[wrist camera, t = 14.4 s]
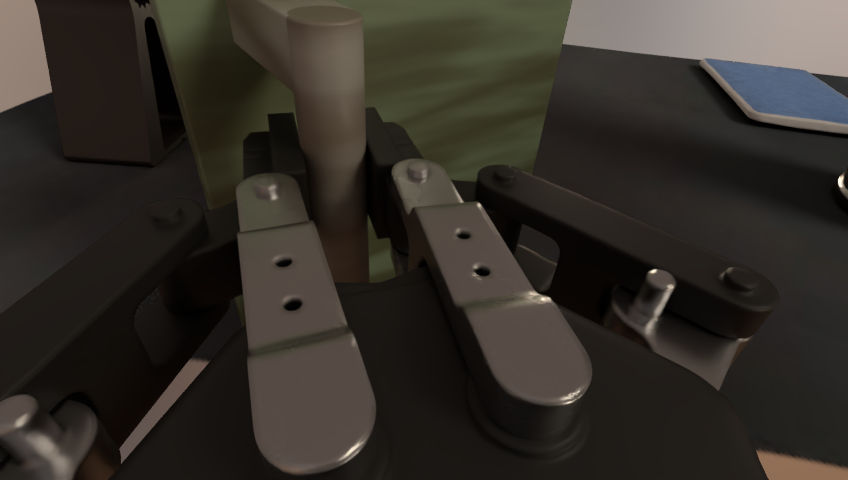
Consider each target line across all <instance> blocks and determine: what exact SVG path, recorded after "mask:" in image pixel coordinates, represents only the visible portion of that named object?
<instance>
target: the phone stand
mask: <svg viewBox="0 0 848 480" xmlns="http://www.w3.org/2000/svg"><path fill="white" fill-rule="evenodd" d="M35 3H36V6H37V9H38V13H39V18H40V24H41V30H42V35H43V41H44V46H45V52H46V58H47V63H48V69H49V75H50V81H51V86H52V92H53V98H54V103H55V109H56V115H57V120H58V126H59V132H60V137H61V143H62V149H63V154H64V158H65V159H66V160H74V161H88V162H102V163H115V164H129V165H142V166H156V165H157V164H158V163H159V162H161V161H162V160H163V159H164V158H165V157H166V156H167V155H168V154H169V153H170V152H171V151H172V150H173V149H174V148H175V147H177V146H178V145H179V144H180V143H181V142H182V141H183V140H182V139H183V138H184V139H185V138H186V137H187V136H188V135H187V132H186V128H185V125H184V121H183V118H182V114H181V111H180V107H179V104H178V100H177V97H176V93H175V90H174V86H173V83H172V79H171V76H170V72H169V69H168V65H167V62H166V58H165V55H164V51H163V48H162V44H161V41H160V37H159V34H158V30H157V26H156V23H155V19H154V16H153V12H152V9H151V5H150V2H149V0H35Z"/></svg>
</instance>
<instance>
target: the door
mask: <svg viewBox="0 0 848 480" xmlns="http://www.w3.org/2000/svg"><path fill="white" fill-rule="evenodd" d="M149 2H150V5H151V9H152V12H153V16H154V19H155V23H156V26H157V30H158V34H159V37H160V41H161V44H162V48H163V51H164V55H165V58H166V62H167V65H168V69H169V72H170V76H171V79H172V83H173V86H174V90H175V93H176V97H177V100H178V104H179V107H180V111H181V114H182V118H183V121H184V125H185V128H186V132H187V135H188V139H189V142H190V146H191V149H192V153H193V156H194V160H195V163H196V167H197V170H198V174H199V177H200V181H201V184H202V188H203V191H204V195H205V198H206V202H207V205H208V209H209V211H210V210H213V209H216V208H219V207H222V206H225V205H227V204H229V203H231V202H233V201H234V200H235V199H237V197H236V188H237V186H238V185H239V184H240V183H241V182H242V181H243V140H244V139H245V138H246V137H247V136H248V135H249V134H250V132H262V131H269V123H268V115H267V114H274V113H290V112H293V113H294V117H295V122H296V126H297V130H298V135H299V142H300V147H301V149H302V153H303V157H304V161H305V166H306V170H307V178H308V187H309V196H310V204H311V213H312V220H313V221H314V223H315V226H316V229H317V232H318V235H319V238H320V241H321V244H322V248H323V251H324V254H325V257H326V260H327V263H328V266H329V269H330V272H331V275H332V279H333V282H340V283H379V282H383V281H386V280H389V279H391V278H394V277H396V273H395V270H394V267H393V263H392V260H391V256H390V246H391V241H390V238H385V239H377V236H376V234H375V231H374V228H373V226H372V223H371V220H370V218H369V215H368V194H367V154H366V114H365V108H369V107H375V109H376V110H377V112H378V114H379V116H380V117H381V119H382V121H383V122H394V123H396V124H398V125H399V126H401V127H403V128H404V129H405V130H406V132H407V134H408V135H409V138H411V140H412V141H413V143H414V145H415V146H416V148H417V149H418V151H419V152H420V154H421V155H422V157H423V158H424V159H426V160H430V161H433V162H436V163H438V164H439V165H441V166H442V167H443V168H444V169H445V171H446V173H447V174H448V176H449V178H450V179H452V180H460V181H473V182H476V181H477V175H478V172H479V170H480V169H482V168H483V167H486V166H489V165H508V166H513V167H516V168H519V169H521V170H523V171H526V172H528V173H530V174H532V173H533V169H534V164H535V160H536V156H537V151H538V147H539V143H540V138H541V134H542V130H543V125H544V121H545V117H546V112H547V108H548V104H549V99H550V95H551V91H552V86H553V82H554V78H555V73H556V69H557V65H558V60H559V56H560V52H561V47H562V43H563V39H564V34H565V29H566V26H567V21H568V17H569V13H570V8H571V3H572V0H149ZM234 300H235V303H236V307H237V310H238V314H239V317H240V321H241V324H242V327H243V326H245V325H246V318H245V308H244V298H243V294H242V295H240V296H237V297H235V298H234Z"/></svg>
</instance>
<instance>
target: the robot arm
mask: <svg viewBox="0 0 848 480" xmlns="http://www.w3.org/2000/svg"><path fill="white" fill-rule="evenodd" d="M365 114H366V154H367V194H368V215H369V218H370V220H371V223H372V226H373V228H374V231H375V234H376V236H377V239H385V238H390V241H391V246H390V256H391V260H392V263H393V267H394V270H395V273H396V277H394V278H391V279H389V280H386V281H383V282H379V283H340V282H333V279H332V275H331V272H330V269H329V266H328V263H327V260H326V257H325V254H324V251H323V248H322V244H321V241H320V238H319V235H318V232H317V229H316V226H315V223H314V221H313V220H312V213H311V204H310V196H309V187H308V178H307V170H306V166H305V161H304V157H303V153H302V149H301V147H300V142H299V135H298V130H297V126H296V122H295V117H294V113H293V112H290V113H274V114H267V115H268V123H269V131H262V132H250V134H249V135H248V136H247V137H246V138H245V139H244V140H243V181H242V182H241V183H240V184H239V185H238V186H237V188H236V197H237V199H235V200H234V201H233V202H231V203H229V204H227V205H225V206H222V207H219V208H216V209H213V210H210V211H206V212H203V208H202V206H201V205H200V204H199V203H197V202H196V201H193V200H190V199H184V198H171V199H164V200H160V201H156V202H153V203H151V204H148V205H146V206H144V207H142V208H141V209H139V210H138V211H136V212H135V213H134V214H132V215H131V216H130V217H128V218H127V219H126V220H124V221H123V222H122V223H121V224H119V225H118V226H117V227H115V228H114V229H113V230H111V231H110V232H109V233H107V234H106V235H105V236H103V237H102V238H101V239H99V240H98V241H97V242H95V243H94V244H93V245H91V246H90V247H89V248H87V249H86V250H85V251H83V252H82V253H81V254H79V255H78V256H77V257H75V258H74V259H73V260H72V261H70V262H69V263H68V264H66V265H65V266H64V267H62V268H61V269H60V270H58V271H57V272H56V273H54V274H53V275H52V276H50V277H49V278H48V279H46V280H45V281H44V282H42V283H41V284H40V285H38V286H37V287H36V288H34V289H33V290H32V291H30V292H29V293H28V294H27V295H25V296H24V297H23V298H21V299H20V300H19V301H17V302H16V303H15V304H13V305H12V306H11V307H9V308H8V309H7V310H5V311H4V312H3V313H1V314H0V480H769V479H768V478H767V476H766V474H765V471H764V469H763V467H762V465H761V463H760V461H759V458H758V455H757V452H756V449H755V447H754V444H753V441H752V439H751V436H750V434H749V431H748V430H747V428H746V426H745V424H744V422H743V420H742V419H741V417H740V416H739V414H738V413H737V411H736V410H735V409H734V407H733V406H732V405H731V404H730V403H729V402H728V400H727V399H726V398H725V397H724V396H723V395H722V394H721V393H720V392H719V389H720V387H721V385H722V382H723V380H724V378H725V375H726V373H727V371H728V368H729V367H730V366H731V364H732V363H733V362H734V360H735V359H736V358H737V356H738V355H739V354H740V353H741V351H742V350H743V349H744V347H745V346H746V345H747V343H748V342H749V341H750V339H751V338H752V337H753V336H754V334H755V333H756V332H757V330H758V329H759V328H760V326H761V325H762V324H763V322H764V321H765V320H766V319H767V317H768V316H769V315H770V313H771V312H772V311H773V309H774V308H775V307H776V306H777V304H778V303H779V294H778V291H777V290H776V288H775V287H774V286H773V284H772V283H771V282H770V281H769V280H767V279H766V278H765V277H764V276H762V275H761V274H759V273H757V272H756V271H754V270H752V269H750V268H748V267H746V266H743V265H741V264H739V263H736V262H734V261H732V260H729V259H727V258H725V257H722V256H720V255H718V254H715V253H713V252H711V251H709V250H706V249H704V248H702V247H699V246H697V245H695V244H692V243H690V242H688V241H685V240H683V239H681V238H678V237H676V236H674V235H671V234H669V233H667V232H665V231H662V230H660V229H658V228H655V227H653V226H651V225H648V224H646V223H644V222H641V221H639V220H637V219H634V218H632V217H630V216H627V215H625V214H623V213H621V212H618V211H616V210H614V209H611V208H609V207H607V206H604V205H602V204H600V203H597V202H595V201H593V200H590V199H588V198H586V197H583V196H581V195H579V194H577V193H574V192H572V191H570V190H567V189H565V188H563V187H560V186H558V185H556V184H553V183H551V182H549V181H546V180H544V179H542V178H539V177H537V176H535V175H533V174H530V173H528V172H526V171H523V170H521V169H519V168H516V167H513V166H508V165H489V166H486V167H483V168H482V169H480V170H479V172H478V175H477V181H476V182H473V181H460V180H452V179H450V178H449V176H448V174H447V173H446V171H445V169H444V168H443V167H442V166H441V165H439V164H438V163H436V162H433V161H430V160H426V159H424V158H423V157H422V155H421V154H420V152H419V151H418V149H417V148H416V146H415V145H414V143H413V141H412V140H411V138H409V135H408V134H407V132H406V130H405V129H404V128H403V127H401V126H399V125H398V124H396V123H394V122H383V121H382V119H381V117H380V116H379V114H378V112H377V110H376V109H375V107H369V108H365ZM832 192H833V195H834V197H835V198H836V200H837V201H838V202H839V203H840V204H841V205H842V206H843V207H844V208H845V209H847V210H848V169H847V170H846V172H844V173H843V174H842V175H841V176H840V177H839V179H838V180H837V182H836V183H835V184H834V186H833V188H832ZM522 223H523V224H525V225H527V226H529V227H531V228H533V229H535V230H537V231H539V232H541V233H543V234H545V235H547V236H549V237H551V238H552V239H553V240H554V241H555V242H556V243H557V244H558V246H559V249H560V257H559V260H558V263H555V262H553V261H551V260H549V259H547V258H545V257H543V256H542V255H540V254H538V253H536V252H534V251H532V250H530V249H528V248H527V247H525V246H523V245H521V244H519V243H518V239H519V235H520V231H521V227H522ZM156 287H157V288H158V290H159V292H160V295H161V296H160V297H159V298H158V299H157V300H156V301H155V302H154V303H153V304H152V305H151V306H150V307H149V308H148V309H147V310H146V311H145V312H144V313H143V314H142V315H141V316H140V317H139V318H138V319H137V320H136V321H135V322H134V316H135V312H136V310H137V308H138V306H139V305H140V303H141V302H142V301H143V300H144V299H145V298H146V297H147V296H148V295H149V294H150V293H151V292H152V291H153V290H154V289H155V288H156ZM242 294H243V298H244V308H245V318H246V325H245V326H243V327H242V328H241V329H240V330H239V331H238V332H236V333H235V334H234V335H233V336H232V337H231V338H230V339H229V340H228V342H227V343H226V344H225V345H224V346H223V347H222V349H221V350H220V351H219V352H218V353H217V354H216V355H215V357H214V358H213V359H212V360H211V361H210V362H209V363H208V365H207V366H206V367H205V368H204V369H203V370H202V372H201V373H200V374H199V375H198V376H197V377H196V378H195V380H194V381H193V382H192V383H191V384H190V385H189V387H188V388H187V389H186V390H185V392H183V393H182V395H181V396H180V397H179V398H178V399H177V400H176V402H175V403H174V404H173V405H172V406H171V407H170V408H169V410H168V411H167V412H166V413H165V414H164V415H163V417H162V418H161V419H160V420H159V421H158V422H157V423H156V425H155V426H154V427H153V428H152V429H151V430H150V432H149V433H148V434H147V435H146V436H145V437H144V438H143V440H142V441H141V442H140V443H139V444H138V445H137V446H136V448H135V449H134V450H133V451H132V452H131V453H130V454H129V456H128V457H127V458H126V459H125V460H124V461H123V463H122V464H121V455H120V450H119V448H120V447H121V446H122V444H123V443H124V442H125V440H126V439H127V438H128V437H129V436H130V434H131V433H132V432H133V430H134V429H135V428H136V427H137V425H138V424H139V423H140V422H141V420H142V419H143V417H144V416H145V415H146V414H147V413H148V411H149V410H150V409H151V408H152V406H153V405H154V404H155V403H156V401H157V400H158V399H159V397H160V396H161V395H162V394H163V392H164V391H165V390H166V389H167V387H168V386H169V385H170V383H171V382H172V381H173V380H174V378H175V377H176V376H177V375H178V373H179V372H180V371H181V369H182V368H183V367H184V366H185V364H186V363H187V362H188V361H189V359H190V358H191V357H192V355H193V354H194V353H195V352H196V350H197V349H198V348H199V347H200V345H201V344H202V343H203V342H204V340H205V339H206V338H207V336H208V335H209V334H210V333H211V331H212V330H213V329H214V328H215V326H216V325H217V324H218V322H219V321H220V320H221V319H222V317H223V316H224V315H225V313H226V312H227V310H228V308H229V304H230V302H229V300H230V299H232V298H235V297H237V296H240V295H242Z"/></svg>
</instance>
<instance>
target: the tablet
mask: <svg viewBox="0 0 848 480" xmlns="http://www.w3.org/2000/svg"><path fill="white" fill-rule="evenodd" d="M699 65H700V66H701V67H702V68H704V69H705V70H706V71H707V72H708V73H709V74H710V75H711V76H712V77H713V79H714V80H715V81H716V82H717V83H718V84H719V85H720V86H721V87H722V88H723V89H724V91H725V92H726V93H727V94H728V95H729V96H730V97H731V98H732V99H733V100H734V101H735V102H736V104H737V105H738V106H739V107H740V108H741V109H742V111H743V112H744V113H745V114H746V116H747V117H749V118H750V119H753V120H755V121H759V122H764V123H770V124H776V125H782V126H787V127H794V128H800V129H807V130H815V131H823V132H831V133H839V134H848V98H846V97H845V96H843V95H842V94H840V93H839V92H837V91H836V90H834V89H833V88H831V87H830V86H828V85H827V84H825V83H824V82H822V81H821V80H819V79H818V78H816V77H815V76H813V75H812V74H810V73H809V72H807V71H805V70H800V69H791V68H782V67H774V66H767V65H758V64H750V63H741V62H732V61H724V60H716V59H707V58H706V59H702V60H701V61H700V62H699Z"/></svg>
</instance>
